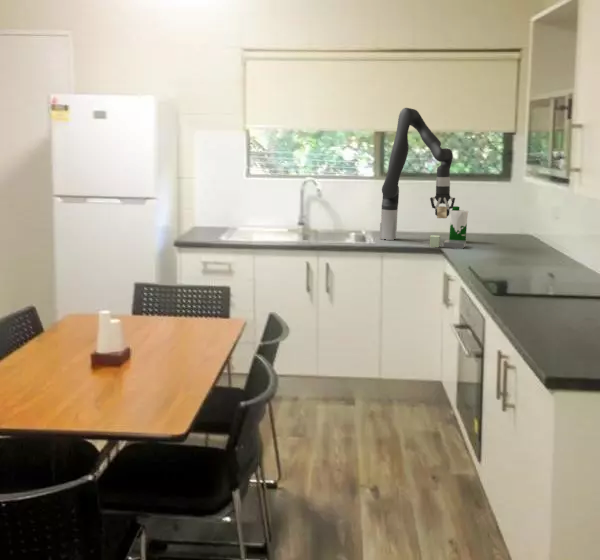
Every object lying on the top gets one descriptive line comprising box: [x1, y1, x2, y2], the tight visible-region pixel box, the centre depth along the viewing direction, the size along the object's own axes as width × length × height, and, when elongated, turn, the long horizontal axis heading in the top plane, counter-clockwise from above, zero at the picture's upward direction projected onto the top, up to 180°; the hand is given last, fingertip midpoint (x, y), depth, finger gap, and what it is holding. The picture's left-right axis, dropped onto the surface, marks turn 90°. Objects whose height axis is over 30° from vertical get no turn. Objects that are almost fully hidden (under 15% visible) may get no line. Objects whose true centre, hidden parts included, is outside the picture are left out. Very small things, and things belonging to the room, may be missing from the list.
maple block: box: [436, 205, 448, 219], centre depth 465 cm, size 5×5×6 cm
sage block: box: [429, 234, 441, 248], centre depth 462 cm, size 5×5×6 cm
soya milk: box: [448, 205, 469, 242], centre depth 481 cm, size 9×9×20 cm
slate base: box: [443, 239, 467, 249], centre depth 464 cm, size 11×11×3 cm
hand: (442, 215), depth 466 cm, fingers closed on maple block, 5 cm apart
